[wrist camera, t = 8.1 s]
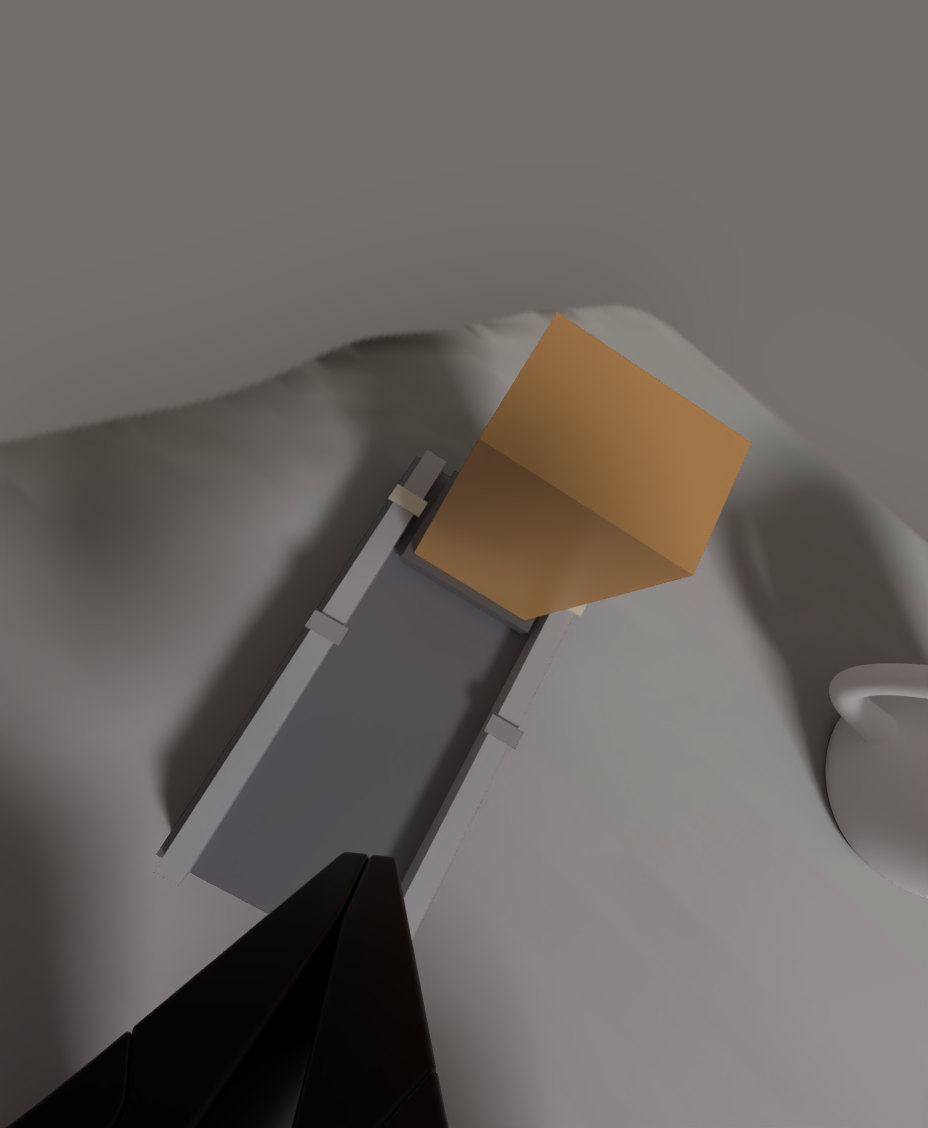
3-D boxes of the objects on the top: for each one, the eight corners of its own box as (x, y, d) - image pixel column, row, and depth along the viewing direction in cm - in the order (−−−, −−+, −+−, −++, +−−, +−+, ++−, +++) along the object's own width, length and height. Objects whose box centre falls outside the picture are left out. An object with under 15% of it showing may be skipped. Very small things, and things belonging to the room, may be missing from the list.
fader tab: (520, 633, 19) (701, 598, 9) (399, 560, 18) (454, 442, 9) (564, 550, 20) (769, 438, 10) (450, 478, 19) (550, 291, 10)
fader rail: (387, 953, 18) (394, 1001, 15) (172, 838, 17) (141, 868, 14) (579, 575, 22) (610, 563, 19) (411, 470, 21) (420, 443, 18)
